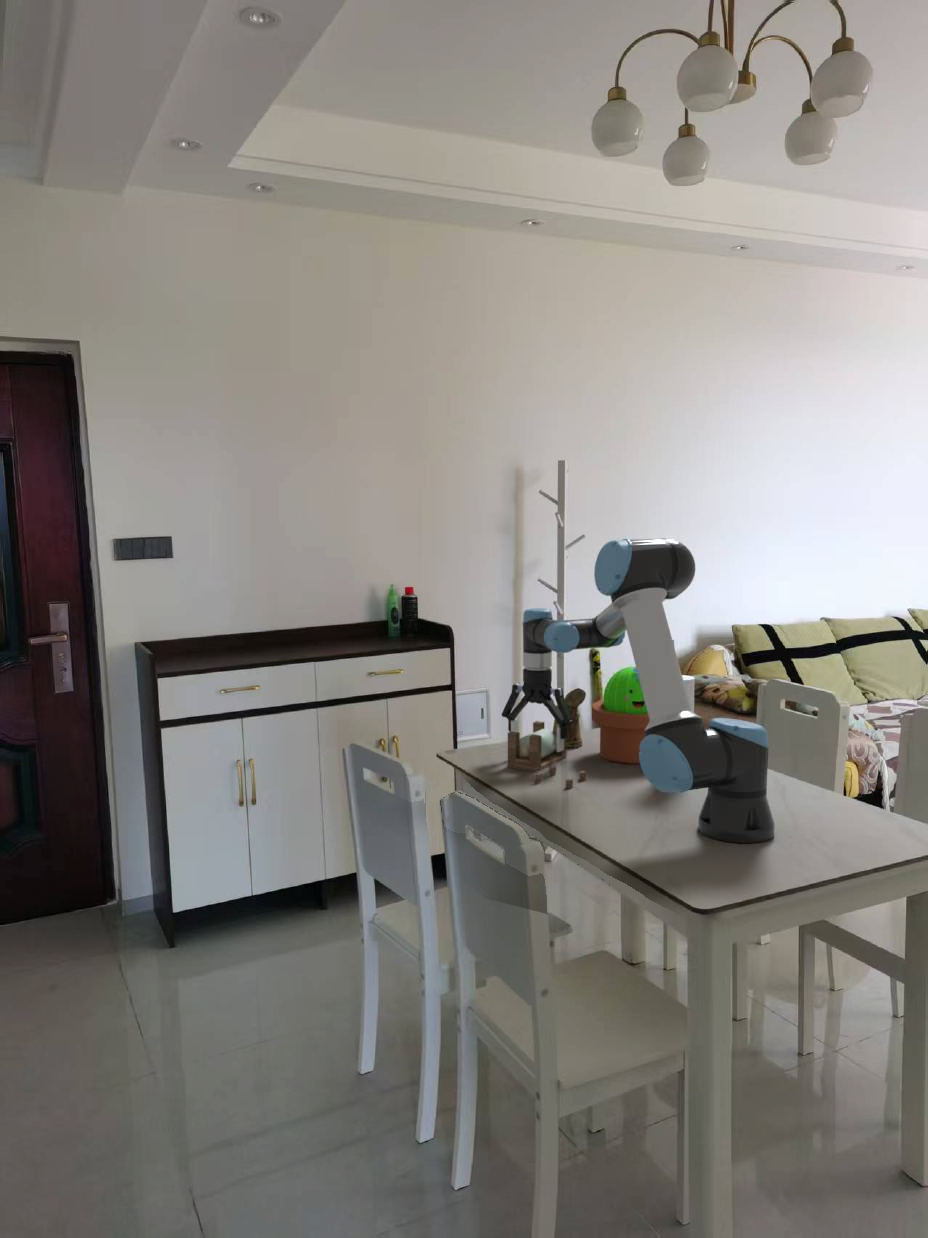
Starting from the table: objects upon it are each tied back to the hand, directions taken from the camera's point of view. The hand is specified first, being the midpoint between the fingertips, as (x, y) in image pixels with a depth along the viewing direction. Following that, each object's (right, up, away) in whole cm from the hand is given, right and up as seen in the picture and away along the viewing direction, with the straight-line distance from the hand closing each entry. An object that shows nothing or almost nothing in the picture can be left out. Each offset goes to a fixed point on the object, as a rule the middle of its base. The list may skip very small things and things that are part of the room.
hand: (537, 747), depth 246 cm
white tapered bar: (+34, -6, -13) cm, 37 cm away
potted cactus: (+26, -3, +6) cm, 27 cm away
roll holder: (0, -4, +1) cm, 4 cm away
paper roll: (0, -3, 0) cm, 3 cm away
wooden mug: (+10, -2, +16) cm, 19 cm away
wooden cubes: (+4, -6, -16) cm, 18 cm away
